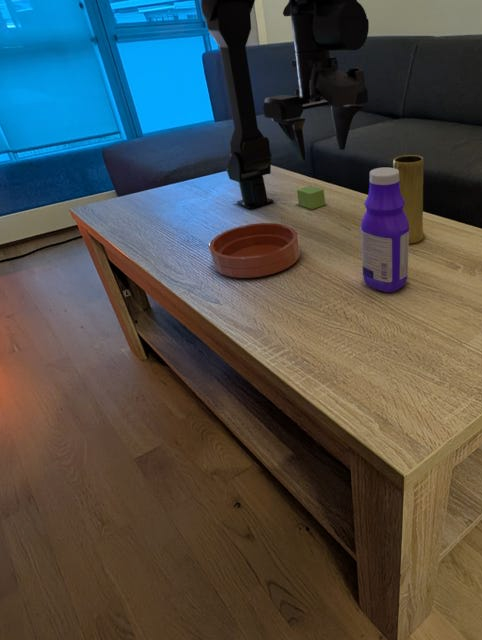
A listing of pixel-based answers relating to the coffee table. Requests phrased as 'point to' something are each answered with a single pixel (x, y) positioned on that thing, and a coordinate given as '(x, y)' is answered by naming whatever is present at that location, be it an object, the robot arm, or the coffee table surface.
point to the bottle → (385, 233)
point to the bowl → (255, 250)
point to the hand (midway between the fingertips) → (322, 155)
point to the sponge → (311, 197)
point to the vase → (412, 192)
